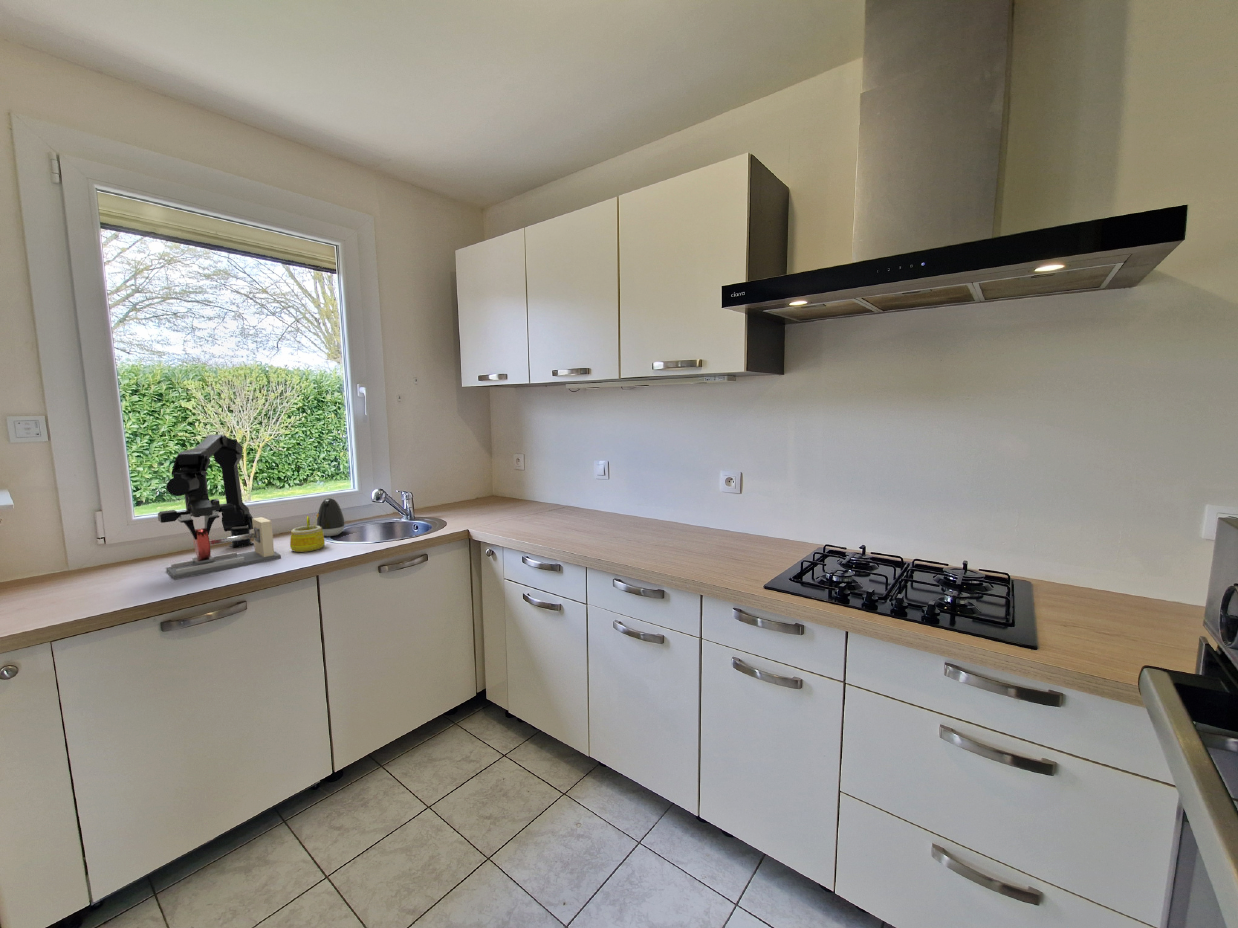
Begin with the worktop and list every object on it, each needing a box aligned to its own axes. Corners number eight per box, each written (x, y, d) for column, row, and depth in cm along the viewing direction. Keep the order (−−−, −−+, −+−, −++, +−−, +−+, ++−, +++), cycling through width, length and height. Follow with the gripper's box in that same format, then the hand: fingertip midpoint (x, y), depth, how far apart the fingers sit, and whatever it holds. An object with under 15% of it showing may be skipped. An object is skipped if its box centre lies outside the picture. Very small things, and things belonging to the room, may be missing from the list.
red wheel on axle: (191, 562, 164) (187, 527, 162) (252, 551, 176) (249, 519, 175) (198, 568, 157) (194, 532, 156) (260, 556, 170) (257, 523, 168)
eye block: (166, 571, 160) (161, 530, 159) (269, 551, 181) (266, 515, 180) (174, 579, 152) (169, 537, 150) (280, 558, 173) (277, 520, 171)
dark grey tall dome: (313, 538, 199) (310, 501, 197) (321, 532, 209) (318, 496, 207) (341, 536, 201) (339, 499, 200) (348, 530, 211) (345, 495, 210)
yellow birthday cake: (309, 554, 178) (306, 521, 176) (283, 552, 180) (280, 520, 178) (336, 544, 190) (334, 513, 189) (311, 543, 192) (309, 512, 191)
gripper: (161, 497, 147) (167, 549, 149) (238, 489, 161) (243, 536, 163) (155, 493, 154) (160, 543, 156) (229, 486, 168) (234, 531, 170)
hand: (201, 538), depth 161 cm, fingers closed on red wheel on axle, 2 cm apart
